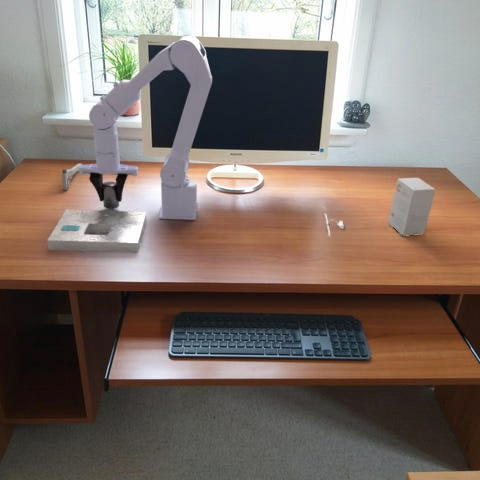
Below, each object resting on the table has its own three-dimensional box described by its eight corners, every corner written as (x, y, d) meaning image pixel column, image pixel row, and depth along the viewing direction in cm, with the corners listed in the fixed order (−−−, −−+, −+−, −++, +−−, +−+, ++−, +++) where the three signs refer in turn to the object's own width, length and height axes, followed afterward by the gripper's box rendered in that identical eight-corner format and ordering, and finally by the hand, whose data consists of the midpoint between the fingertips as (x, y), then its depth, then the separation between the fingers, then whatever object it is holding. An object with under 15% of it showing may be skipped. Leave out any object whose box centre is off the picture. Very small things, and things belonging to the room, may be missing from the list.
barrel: (120, 202, 135) (118, 181, 132) (117, 209, 131) (116, 187, 128) (105, 202, 135) (103, 181, 132) (102, 208, 131) (100, 187, 128)
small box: (424, 235, 130) (436, 189, 124) (402, 237, 129) (413, 190, 122) (407, 221, 137) (418, 177, 131) (387, 223, 136) (397, 178, 129)
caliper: (67, 192, 142) (65, 171, 139) (63, 191, 142) (60, 171, 139) (83, 166, 160) (81, 147, 157) (79, 166, 160) (77, 147, 157)
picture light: (323, 214, 139) (324, 207, 138) (339, 216, 139) (340, 209, 138) (328, 238, 127) (329, 231, 126) (345, 240, 127) (346, 232, 126)
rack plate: (146, 220, 129) (146, 211, 128) (137, 252, 115) (137, 242, 114) (67, 218, 128) (66, 209, 126) (48, 249, 114) (47, 239, 112)
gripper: (138, 146, 129) (140, 194, 136) (81, 144, 129) (86, 192, 135) (134, 155, 123) (137, 205, 130) (74, 153, 122) (80, 204, 129)
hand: (111, 200), depth 132 cm, fingers closed on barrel, 4 cm apart
